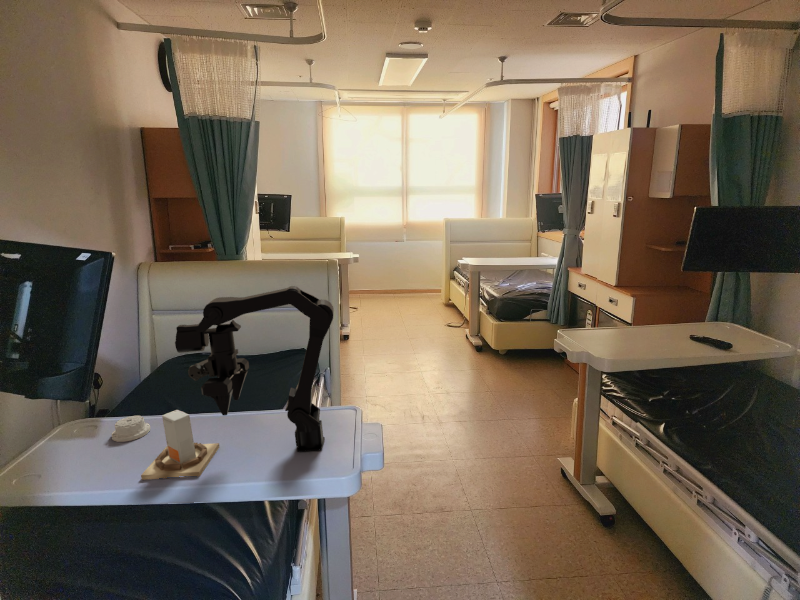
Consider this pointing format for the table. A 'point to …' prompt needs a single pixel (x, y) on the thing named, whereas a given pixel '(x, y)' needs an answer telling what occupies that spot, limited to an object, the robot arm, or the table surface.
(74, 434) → the table surface
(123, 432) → the mechanical component
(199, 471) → the board
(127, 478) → the table surface
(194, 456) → the skincare box
